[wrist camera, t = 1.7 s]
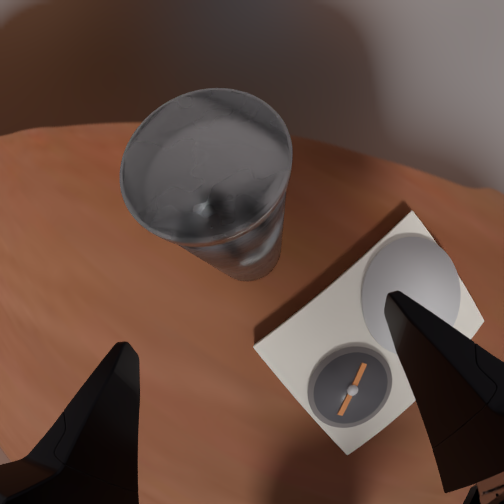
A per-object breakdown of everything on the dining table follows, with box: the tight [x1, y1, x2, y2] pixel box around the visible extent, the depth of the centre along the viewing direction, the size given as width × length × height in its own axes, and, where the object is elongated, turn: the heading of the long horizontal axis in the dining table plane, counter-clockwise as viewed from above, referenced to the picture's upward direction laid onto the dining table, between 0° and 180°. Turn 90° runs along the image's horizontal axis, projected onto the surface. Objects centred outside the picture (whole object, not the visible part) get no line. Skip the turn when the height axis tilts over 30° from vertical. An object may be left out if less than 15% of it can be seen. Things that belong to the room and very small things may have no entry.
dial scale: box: [253, 211, 484, 455], centre depth 18 cm, size 16×12×2 cm
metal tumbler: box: [120, 88, 292, 281], centre depth 14 cm, size 5×5×14 cm
